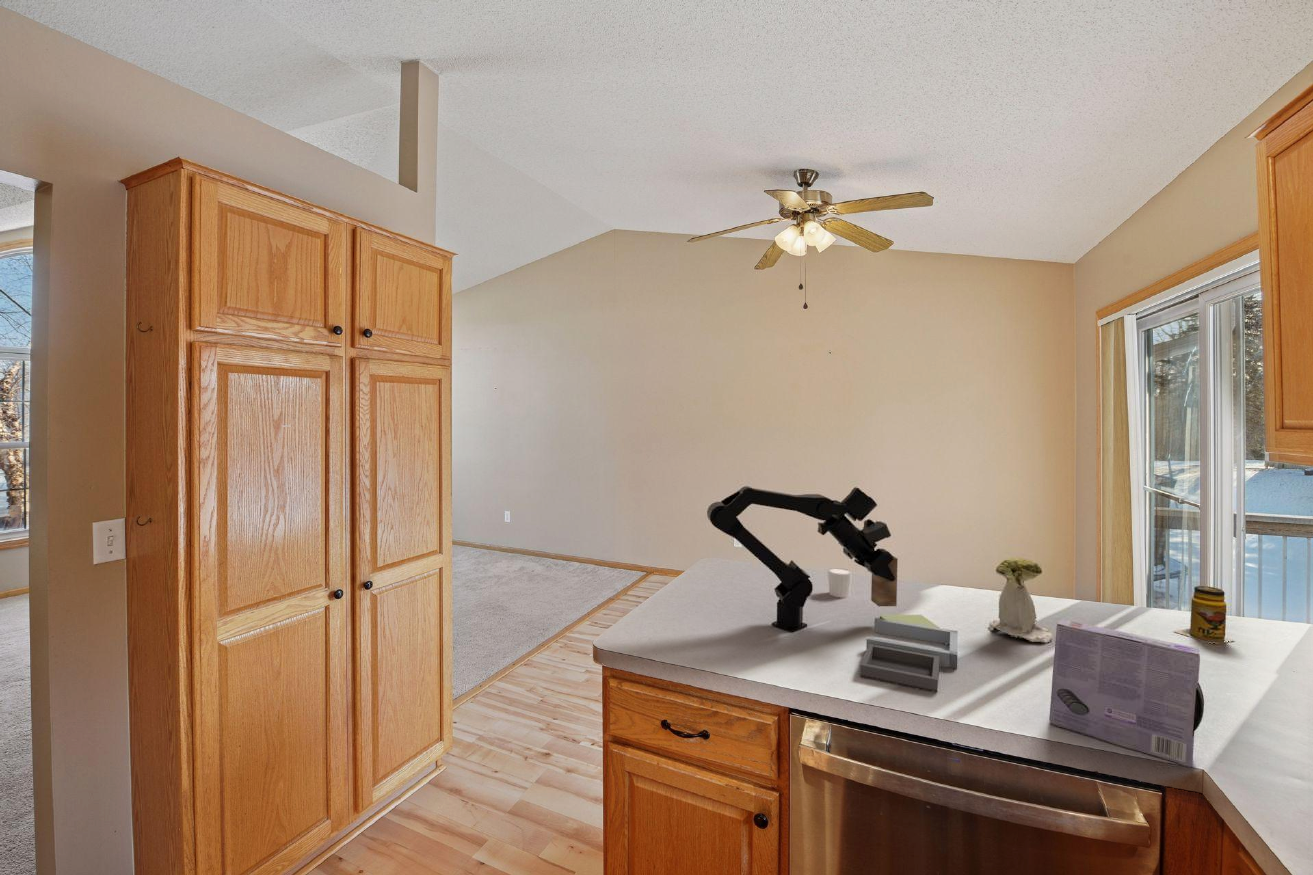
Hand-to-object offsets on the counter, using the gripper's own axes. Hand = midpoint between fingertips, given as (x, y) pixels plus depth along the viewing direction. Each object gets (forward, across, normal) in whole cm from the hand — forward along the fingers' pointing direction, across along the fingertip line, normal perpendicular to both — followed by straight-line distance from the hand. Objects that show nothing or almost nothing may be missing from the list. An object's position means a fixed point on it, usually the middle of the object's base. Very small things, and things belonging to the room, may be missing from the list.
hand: (889, 577), depth 145 cm
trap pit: (+2, -26, +15) cm, 31 cm away
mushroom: (+30, -7, -12) cm, 33 cm away
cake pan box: (+20, -52, -2) cm, 56 cm away
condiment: (+60, -10, -43) cm, 74 cm away
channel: (+8, -14, +9) cm, 19 cm away
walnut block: (+4, 0, +6) cm, 7 cm away
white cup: (+6, +24, +11) cm, 28 cm away
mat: (+13, 0, +4) cm, 13 cm away
